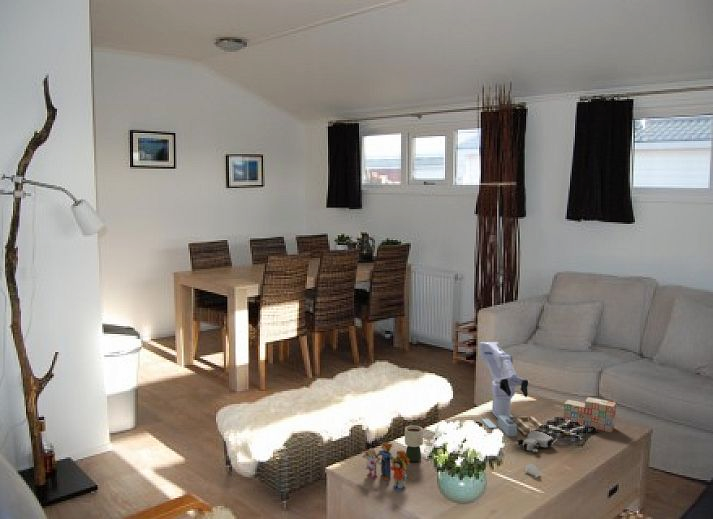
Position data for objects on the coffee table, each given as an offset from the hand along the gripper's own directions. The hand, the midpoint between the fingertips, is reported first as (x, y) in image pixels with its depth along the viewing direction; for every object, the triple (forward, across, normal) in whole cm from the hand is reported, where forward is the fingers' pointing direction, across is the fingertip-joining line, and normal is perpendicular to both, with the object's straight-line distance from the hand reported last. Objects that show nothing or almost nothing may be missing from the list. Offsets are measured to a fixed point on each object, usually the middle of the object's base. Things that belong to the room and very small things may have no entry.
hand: (518, 395), depth 279 cm
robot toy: (+21, +4, +10) cm, 23 cm away
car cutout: (+40, -9, +2) cm, 41 cm away
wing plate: (-2, -8, +21) cm, 23 cm away
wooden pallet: (+3, +9, +17) cm, 19 cm away
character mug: (+30, -50, +10) cm, 59 cm away
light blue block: (+5, -2, +17) cm, 18 cm away
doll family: (+44, -62, +5) cm, 76 cm away
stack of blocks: (+1, +38, +16) cm, 41 cm away
